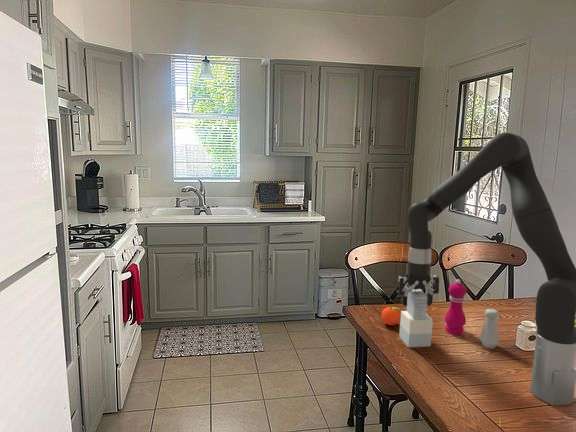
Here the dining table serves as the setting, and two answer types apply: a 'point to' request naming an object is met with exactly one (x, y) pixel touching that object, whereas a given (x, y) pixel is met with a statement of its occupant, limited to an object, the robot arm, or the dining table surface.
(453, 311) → the pepper mill
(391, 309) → the clementine
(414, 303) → the medicine box
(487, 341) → the salt shaker
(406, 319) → the tower top
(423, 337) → the tower base
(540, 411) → the dining table surface
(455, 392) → the dining table surface
